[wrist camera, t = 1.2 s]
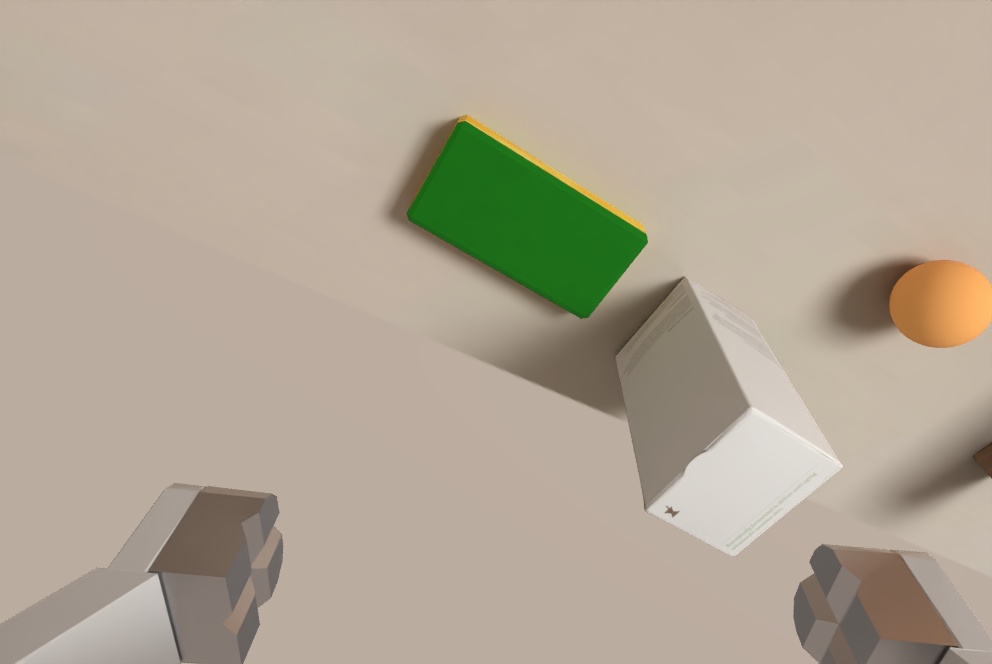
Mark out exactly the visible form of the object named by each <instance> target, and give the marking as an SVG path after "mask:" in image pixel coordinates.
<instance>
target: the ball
mask: <svg viewBox="0 0 992 664" xmlns="http://www.w3.org/2000/svg"><path fill="white" fill-rule="evenodd" d="M889 308H890V314H891V317H892V320H893V322H894V324H895V325H896V327H897V328H898V329H899V331H900V332H901V333H903V334H904V335H905V336H906V337H907V338H909V339H911V340H912V341H914V342H916V343H919V344H921V345H925V346H929V347H936V348H946V347H954V346H958V345H961V344H964V343H967V342H969V341H971V340H972V339H974V338H976V337H977V336H979V335H980V334H981V333H982V332H983V331H984V330H985V329H986V328H987V326H988V325H989V323H990V322H991V320H992V286H991V284H990V283H989V281H988V280H987V278H986V277H985V276H984V275H983V274H982V273H980V272H979V271H978V270H976V269H975V268H973V267H971V266H969V265H967V264H964V263H961V262H957V261H950V260H938V261H931V262H927V263H924V264H921V265H918V266H916V267H914V268H912V269H911V270H909V271H908V272H906V273H905V274H904V275H903V276H902V277H901V278H900V279H899V280H898V281H897V283H896V284H895V286H894V288H893V290H892V293H891V296H890V302H889Z"/></svg>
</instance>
